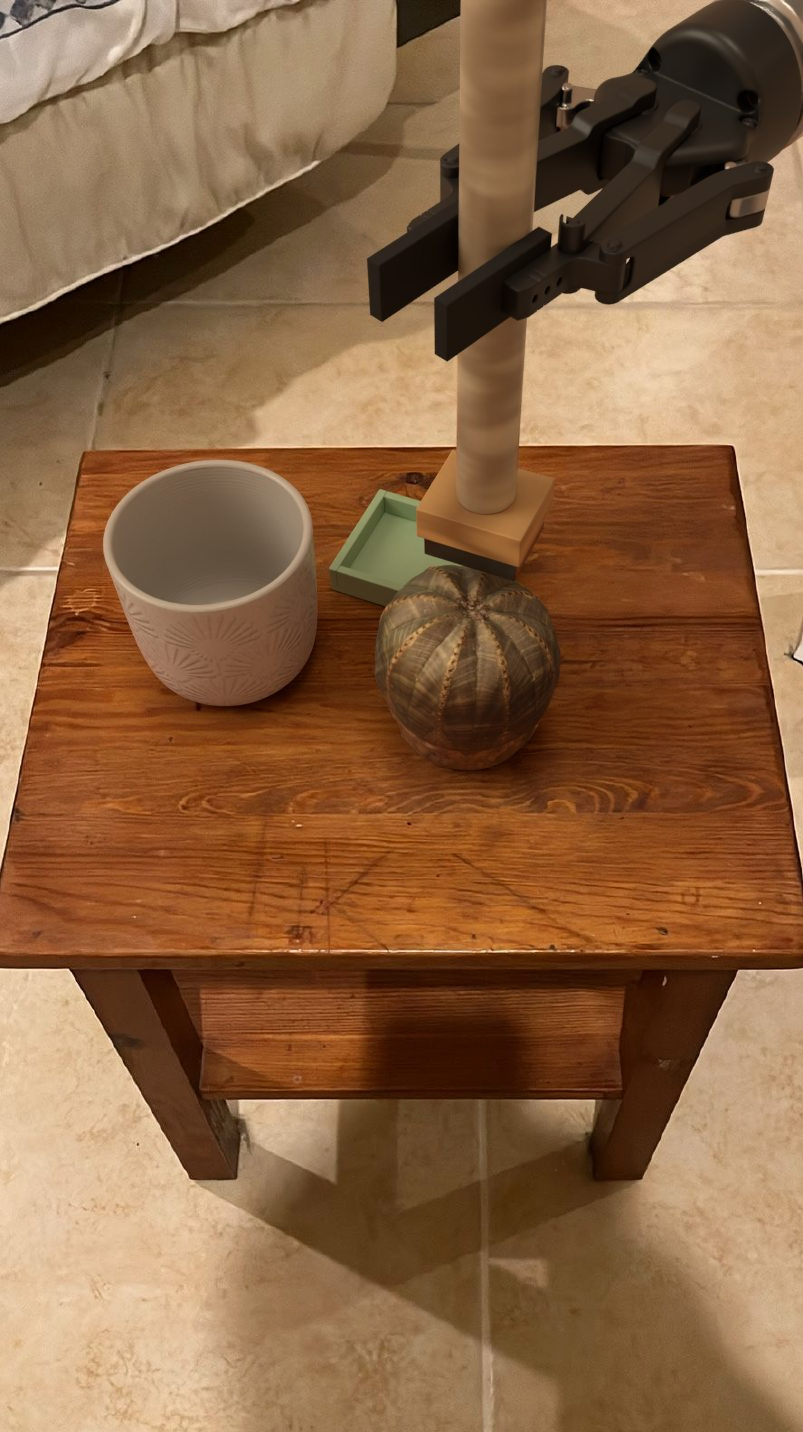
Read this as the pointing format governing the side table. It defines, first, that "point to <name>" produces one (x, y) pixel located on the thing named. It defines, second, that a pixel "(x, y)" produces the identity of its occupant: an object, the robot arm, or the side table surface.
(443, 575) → the brown ribbed round dome
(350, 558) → the tray
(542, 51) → the paper towel holder
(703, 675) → the side table surface
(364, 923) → the side table surface
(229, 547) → the planter
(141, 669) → the side table surface
